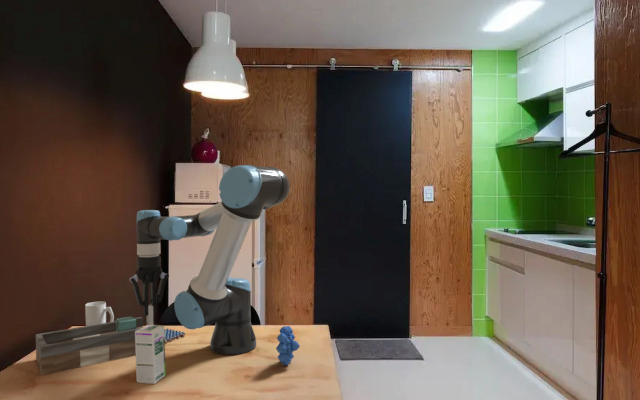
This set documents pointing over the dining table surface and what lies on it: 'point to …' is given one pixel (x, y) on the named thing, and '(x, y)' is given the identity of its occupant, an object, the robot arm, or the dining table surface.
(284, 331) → the grapes
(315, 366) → the dining table surface
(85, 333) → the track
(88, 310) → the mug
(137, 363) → the syrup box
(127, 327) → the block
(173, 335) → the woven mat
